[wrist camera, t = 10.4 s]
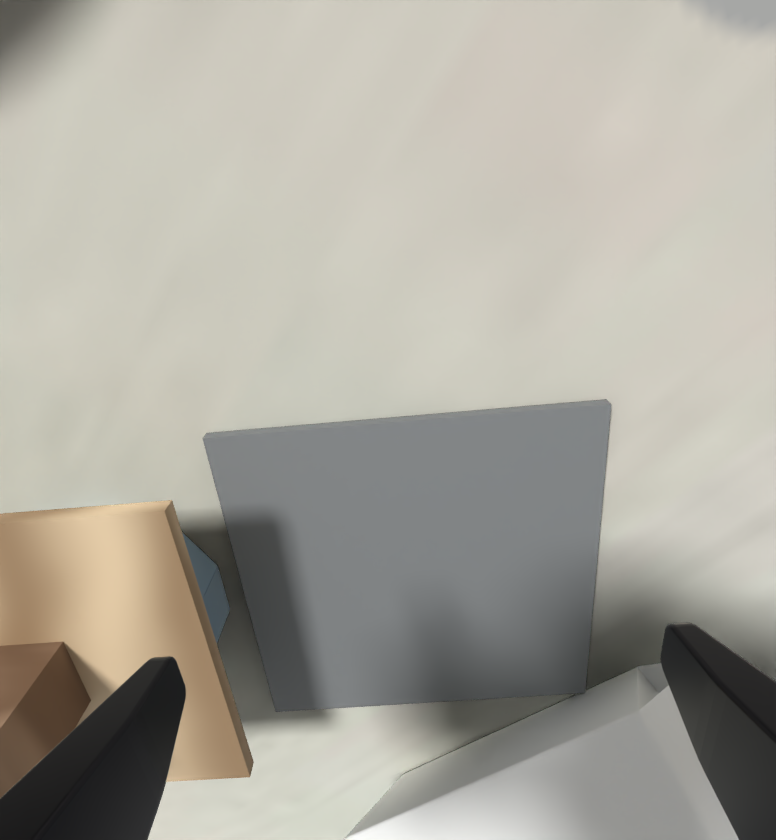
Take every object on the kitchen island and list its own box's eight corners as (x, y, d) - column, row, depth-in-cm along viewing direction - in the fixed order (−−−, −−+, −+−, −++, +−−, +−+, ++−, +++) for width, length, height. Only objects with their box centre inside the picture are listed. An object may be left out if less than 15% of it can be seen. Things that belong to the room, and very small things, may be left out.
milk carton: (399, 775, 30) (712, 631, 25) (459, 919, 27) (822, 789, 22) (338, 841, 24) (740, 666, 19) (408, 1037, 21) (898, 893, 16)
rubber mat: (606, 399, 20) (611, 404, 20) (581, 684, 27) (585, 693, 26) (206, 433, 21) (202, 438, 20) (277, 703, 27) (276, 711, 27)
